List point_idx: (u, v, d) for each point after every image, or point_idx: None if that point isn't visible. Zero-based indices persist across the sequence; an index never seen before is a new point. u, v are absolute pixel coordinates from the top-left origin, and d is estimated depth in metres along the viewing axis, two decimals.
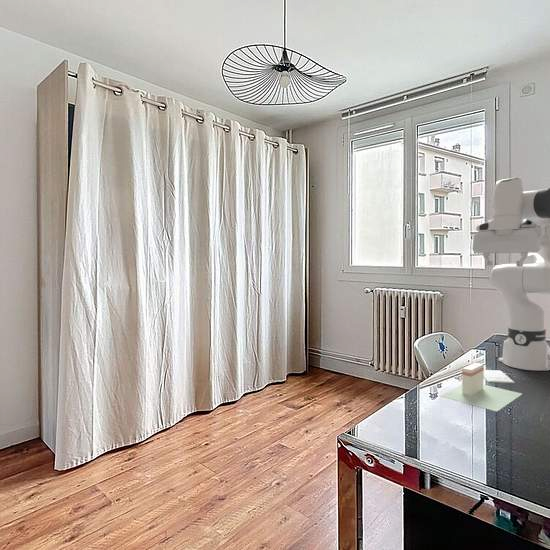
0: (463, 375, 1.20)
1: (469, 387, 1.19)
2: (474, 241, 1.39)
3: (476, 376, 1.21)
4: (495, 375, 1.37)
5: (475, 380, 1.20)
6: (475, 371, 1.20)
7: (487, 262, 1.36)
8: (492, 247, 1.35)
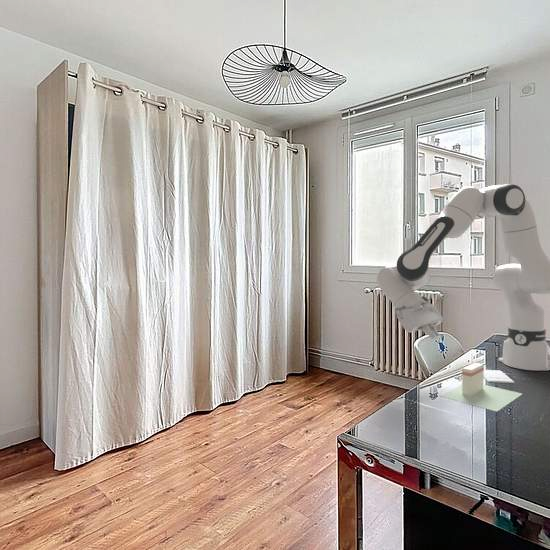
0: (463, 375, 1.20)
1: (469, 387, 1.19)
2: None
3: (476, 376, 1.21)
4: (495, 374, 1.37)
5: (475, 380, 1.20)
6: (475, 371, 1.20)
7: None
8: None
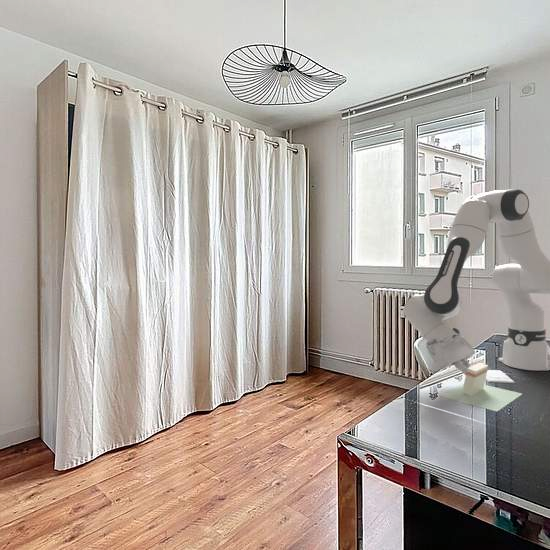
0: (467, 375, 1.19)
1: (470, 387, 1.19)
2: None
3: (479, 377, 1.20)
4: (495, 374, 1.37)
5: (477, 381, 1.20)
6: (479, 373, 1.19)
7: None
8: None
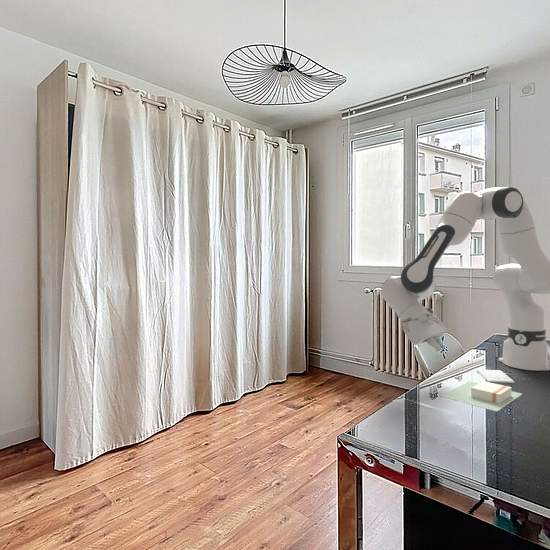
0: (491, 394, 1.14)
1: (480, 396, 1.17)
2: None
3: None
4: (495, 374, 1.37)
5: None
6: None
7: None
8: None
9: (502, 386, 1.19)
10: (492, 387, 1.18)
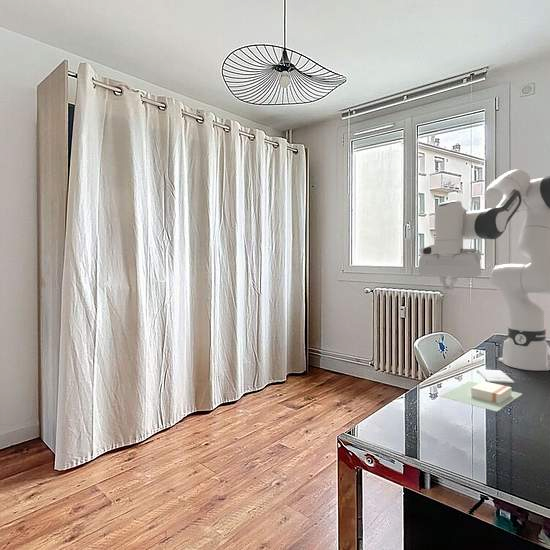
0: (491, 394, 1.14)
1: (480, 396, 1.17)
2: (419, 264, 1.38)
3: None
4: (495, 374, 1.37)
5: None
6: None
7: (444, 286, 1.33)
8: (435, 270, 1.34)
9: (502, 386, 1.19)
10: (492, 387, 1.18)
